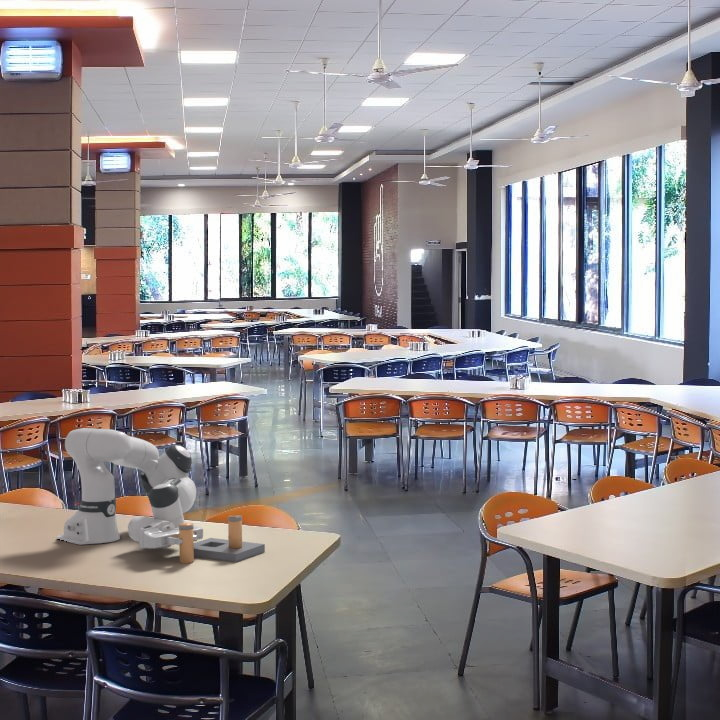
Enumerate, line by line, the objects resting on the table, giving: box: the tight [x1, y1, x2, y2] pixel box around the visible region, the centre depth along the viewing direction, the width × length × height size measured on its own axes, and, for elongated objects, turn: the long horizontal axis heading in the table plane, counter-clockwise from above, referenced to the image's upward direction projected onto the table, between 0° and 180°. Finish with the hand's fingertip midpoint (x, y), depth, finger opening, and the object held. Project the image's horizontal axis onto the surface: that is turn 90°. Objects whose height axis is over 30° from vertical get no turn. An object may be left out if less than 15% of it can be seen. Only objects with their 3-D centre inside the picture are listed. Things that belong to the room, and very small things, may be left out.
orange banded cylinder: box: [178, 522, 195, 565], centre depth 314 cm, size 4×4×12 cm
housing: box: [194, 514, 266, 563], centre depth 325 cm, size 22×16×12 cm
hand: (188, 540), depth 313 cm, fingers closed on orange banded cylinder, 4 cm apart
